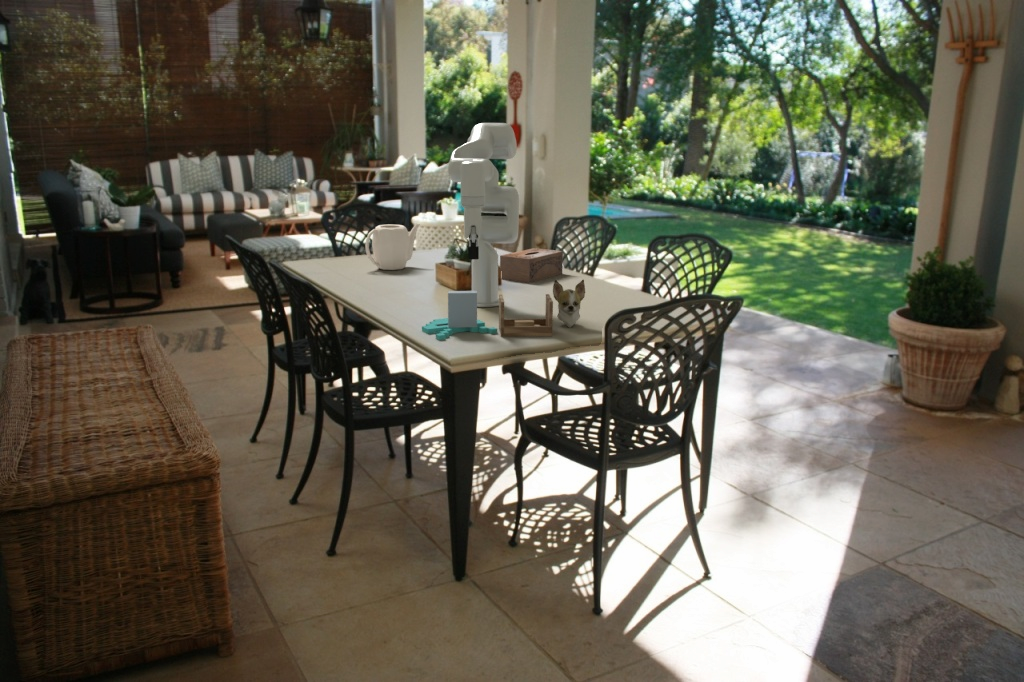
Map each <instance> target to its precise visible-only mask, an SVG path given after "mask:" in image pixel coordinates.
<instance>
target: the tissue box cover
mask: <svg viewBox="0 0 1024 682" xmlns="http://www.w3.org/2000/svg"><path fill="white" fill-rule="evenodd" d="M563 252H564V251H563V250H554V249H546V248H545V249H544V248H537V247H535V248H533V247H532V248H529V249H525V250H520V251H516V252H511V253H506V254H502V255H501V254H500V255H499V256H500V257H499V268H500V267H501V271H502V279H501V280H506V281H513V282H514V281H515V282H520V283H526V284H530V283H533V282H537V281H541V280H545V279H547V278H548V279H549V278H552V277H556V276H559V275H562V274H563V261H564V260H563V259H564V258H563V257H564V253H563Z"/></svg>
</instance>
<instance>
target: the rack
mask: <svg viewBox="0 0 1024 682" xmlns="http://www.w3.org/2000/svg"><path fill="white" fill-rule="evenodd" d="M498 299H499V306H498V330H499V335H500V337H501V338H503V337H504V338H506V337H552V336H553V323H554V322H553V321H554V316H553V315H554V313H553V312H554V311H553V310H554V301H553V298H552V297H551V295H550V294H549V293H546V294H545V315H544V316H545V318H505V299H504V296H503V294H498ZM514 320H533V321H534V325H540V326H516V327H514Z"/></svg>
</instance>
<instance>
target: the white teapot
mask: <svg viewBox="0 0 1024 682" xmlns="http://www.w3.org/2000/svg"><path fill="white" fill-rule="evenodd" d="M419 227H420V224H419V223H416V224H414V226H413V227H412V228H411V230H410V231H408V228H407V227H406V226H405V225H402V224H389V223H388V224H379V225H377V226H375V228H373V229H372V230H371V231H369V233H368V234H367V235H366V236H367V237H366V238H365V245H364V246H365V254H366V255H367V259H368V260H369V261H370V262H371V263H372V264H373V265H375V266H376V268H377V269H381V270H383V271H395V270H402V269H404V268H405V267H406V265H407V263H408V261H409V260H411V259H412V257H413V252H414V245H415V239H416V234H417V231H418V228H419ZM371 237H372V240H371V247H372V253H373V257H372V254H371V250H370V239H371Z"/></svg>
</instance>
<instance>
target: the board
mask: <svg viewBox="0 0 1024 682" xmlns="http://www.w3.org/2000/svg"><path fill="white" fill-rule="evenodd" d="M447 313H448V314H447V318H448V327H449V328H459V327H477V320H478V307H477V291H472V290H450V291H449V290H448V291H447Z"/></svg>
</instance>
